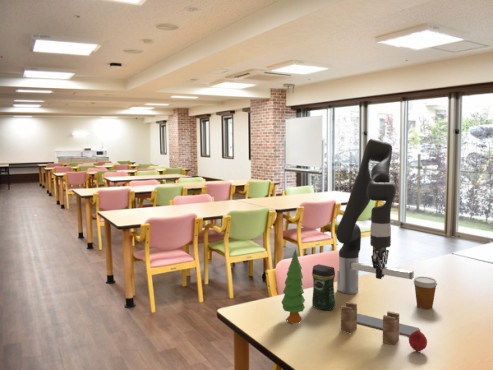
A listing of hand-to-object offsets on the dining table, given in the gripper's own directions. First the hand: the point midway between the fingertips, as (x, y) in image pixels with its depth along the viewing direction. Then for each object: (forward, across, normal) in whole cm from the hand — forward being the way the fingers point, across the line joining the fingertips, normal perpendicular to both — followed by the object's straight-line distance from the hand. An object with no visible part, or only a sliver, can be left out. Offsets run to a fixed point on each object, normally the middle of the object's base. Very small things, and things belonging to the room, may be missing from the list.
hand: (380, 277), depth 161 cm
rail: (-2, 0, 0) cm, 2 cm away
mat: (+19, 0, 0) cm, 19 cm away
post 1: (+19, +11, -8) cm, 23 cm away
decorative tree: (+19, +16, -30) cm, 39 cm away
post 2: (+19, +11, +8) cm, 23 cm away
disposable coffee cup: (+19, -29, +10) cm, 36 cm away
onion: (+19, +14, +18) cm, 30 cm away
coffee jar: (+19, -4, -26) cm, 33 cm away
